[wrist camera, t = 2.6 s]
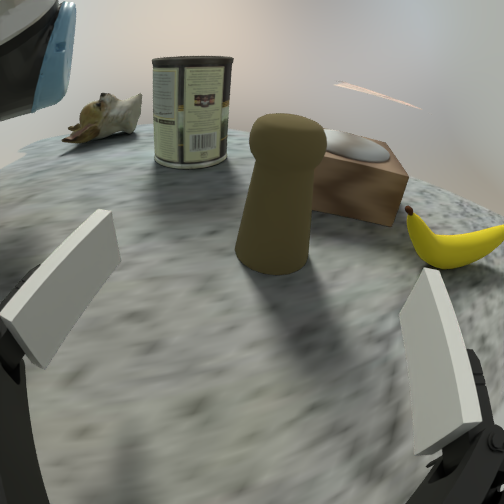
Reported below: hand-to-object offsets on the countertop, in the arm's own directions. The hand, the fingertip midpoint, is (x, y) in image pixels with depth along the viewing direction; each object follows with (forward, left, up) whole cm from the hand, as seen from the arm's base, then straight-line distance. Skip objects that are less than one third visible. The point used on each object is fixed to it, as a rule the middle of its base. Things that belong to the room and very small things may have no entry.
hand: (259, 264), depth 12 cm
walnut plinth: (+6, +25, -7) cm, 27 cm away
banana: (+18, +14, -8) cm, 25 cm away
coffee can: (-14, +29, -8) cm, 33 cm away
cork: (0, +11, -8) cm, 13 cm away
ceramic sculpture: (-34, +35, -8) cm, 49 cm away
